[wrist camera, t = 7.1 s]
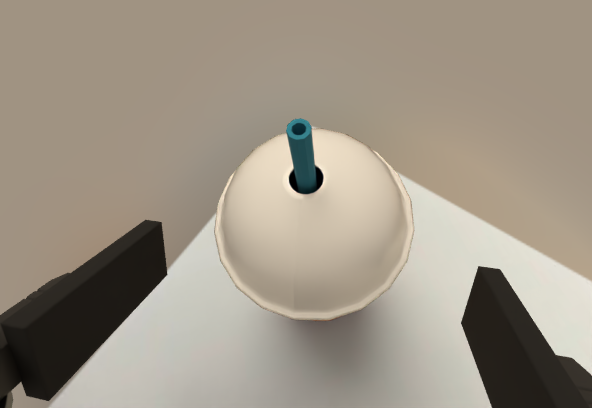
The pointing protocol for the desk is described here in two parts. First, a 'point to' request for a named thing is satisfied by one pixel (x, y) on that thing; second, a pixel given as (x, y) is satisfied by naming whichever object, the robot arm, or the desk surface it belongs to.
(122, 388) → the desk surface
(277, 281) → the smoothie
